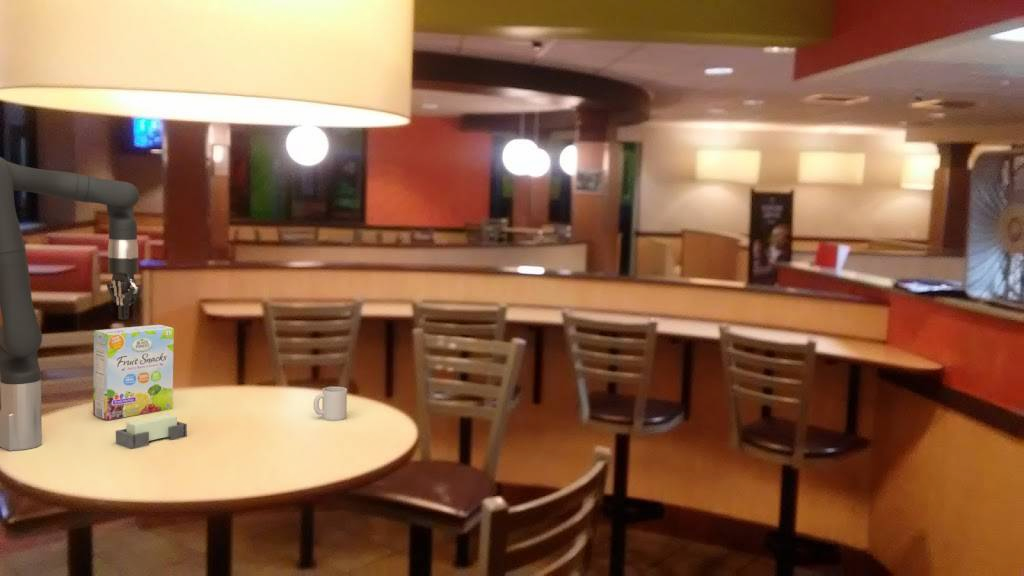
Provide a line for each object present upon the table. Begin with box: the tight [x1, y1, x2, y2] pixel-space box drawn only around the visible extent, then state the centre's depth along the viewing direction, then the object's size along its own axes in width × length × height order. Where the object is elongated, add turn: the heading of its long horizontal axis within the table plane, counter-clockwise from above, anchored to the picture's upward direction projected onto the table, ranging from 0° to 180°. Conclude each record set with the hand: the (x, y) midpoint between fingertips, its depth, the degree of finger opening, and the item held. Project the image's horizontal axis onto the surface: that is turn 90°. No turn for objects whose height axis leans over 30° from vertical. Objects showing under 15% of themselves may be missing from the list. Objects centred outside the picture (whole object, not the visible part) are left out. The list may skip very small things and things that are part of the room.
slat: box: [125, 414, 178, 442], centre depth 247 cm, size 12×4×5 cm, turn 144°
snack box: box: [92, 324, 175, 421], centre depth 273 cm, size 22×9×26 cm, turn 143°
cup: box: [313, 386, 348, 422], centre depth 276 cm, size 7×10×9 cm
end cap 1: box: [115, 428, 150, 450], centre depth 242 cm, size 5×7×4 cm
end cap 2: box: [163, 420, 188, 441], centre depth 252 cm, size 5×7×4 cm
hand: (123, 319), depth 249 cm, fingers closed
